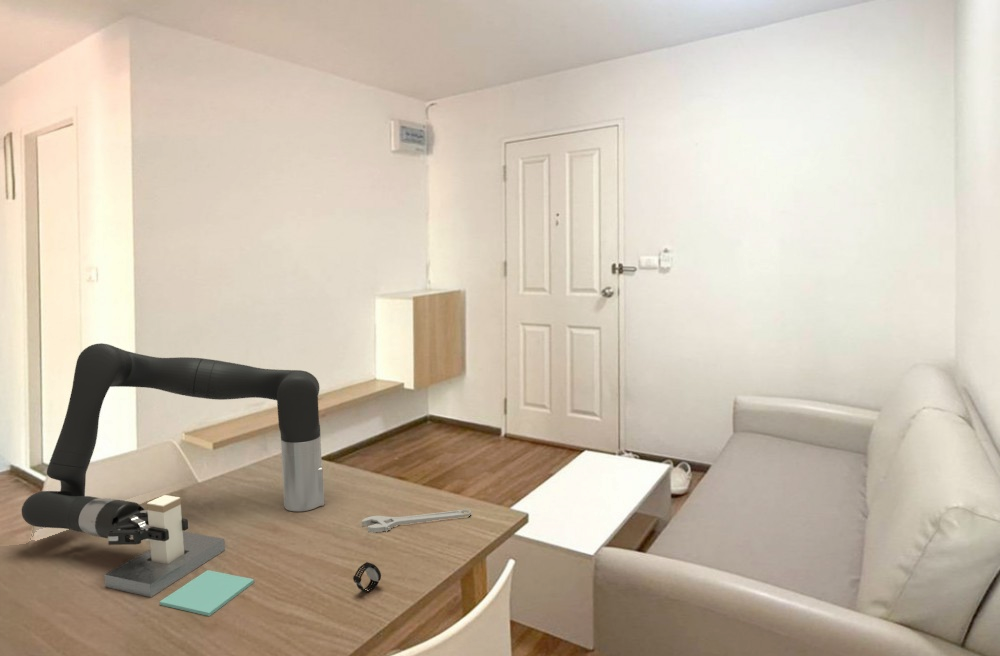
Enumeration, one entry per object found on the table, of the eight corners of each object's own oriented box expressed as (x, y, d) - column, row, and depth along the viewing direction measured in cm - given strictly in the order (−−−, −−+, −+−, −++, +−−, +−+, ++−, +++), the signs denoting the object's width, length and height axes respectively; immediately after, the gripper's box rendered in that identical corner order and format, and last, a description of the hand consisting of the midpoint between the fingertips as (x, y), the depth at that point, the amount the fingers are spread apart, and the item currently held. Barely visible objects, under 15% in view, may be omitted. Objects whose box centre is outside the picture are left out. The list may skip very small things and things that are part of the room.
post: (169, 560, 119) (164, 494, 117) (185, 563, 118) (180, 497, 116) (152, 571, 115) (146, 503, 113) (168, 574, 114) (163, 505, 112)
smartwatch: (383, 590, 108) (382, 565, 108) (356, 599, 105) (355, 573, 105) (375, 580, 112) (374, 555, 111) (349, 588, 109) (348, 563, 108)
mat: (207, 572, 114) (207, 570, 114) (254, 582, 111) (254, 579, 111) (159, 604, 104) (159, 601, 104) (209, 616, 101) (209, 612, 101)
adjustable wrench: (469, 514, 141) (469, 507, 141) (473, 527, 135) (473, 519, 134) (363, 523, 136) (363, 515, 136) (362, 536, 130) (362, 528, 130)
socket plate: (183, 542, 127) (183, 531, 126) (225, 549, 123) (224, 538, 123) (105, 587, 110) (104, 574, 109) (151, 597, 106) (149, 584, 106)
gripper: (75, 515, 113) (143, 528, 107) (140, 487, 126) (204, 497, 121) (78, 552, 113) (147, 566, 108) (143, 520, 127) (206, 532, 122)
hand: (176, 530), depth 115 cm, fingers closed on post, 4 cm apart
